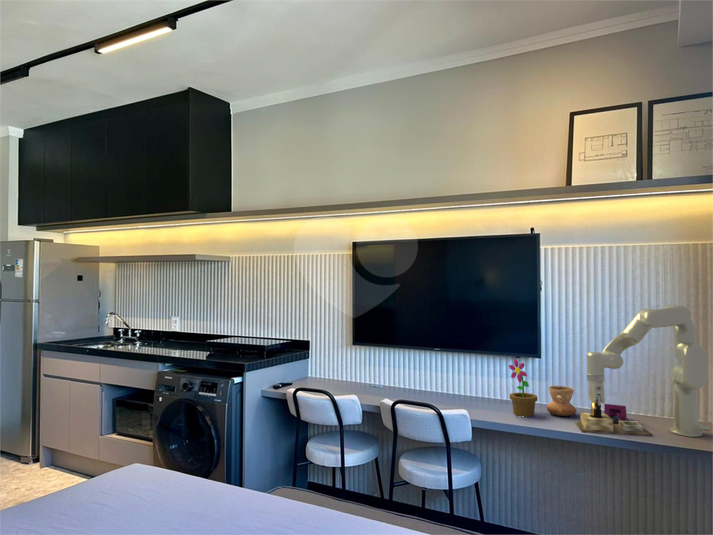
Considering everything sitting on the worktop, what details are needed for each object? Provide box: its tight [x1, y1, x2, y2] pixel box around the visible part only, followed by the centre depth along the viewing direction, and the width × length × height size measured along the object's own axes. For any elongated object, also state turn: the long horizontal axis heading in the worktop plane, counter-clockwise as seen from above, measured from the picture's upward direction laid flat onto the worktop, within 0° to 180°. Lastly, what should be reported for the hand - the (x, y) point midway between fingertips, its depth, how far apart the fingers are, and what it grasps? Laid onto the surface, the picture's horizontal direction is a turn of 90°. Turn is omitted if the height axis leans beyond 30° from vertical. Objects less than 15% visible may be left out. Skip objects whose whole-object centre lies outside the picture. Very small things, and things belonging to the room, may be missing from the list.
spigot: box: [590, 402, 598, 418], centre depth 236 cm, size 4×4×9 cm
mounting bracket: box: [603, 403, 628, 421], centre depth 249 cm, size 10×8×18 cm
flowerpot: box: [508, 358, 538, 418], centre depth 262 cm, size 14×14×30 cm
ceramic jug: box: [546, 385, 577, 417], centre depth 263 cm, size 18×14×14 cm
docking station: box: [574, 412, 653, 437], centre depth 234 cm, size 30×14×6 cm, turn 78°
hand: (596, 415), depth 236 cm, fingers closed on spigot, 3 cm apart
